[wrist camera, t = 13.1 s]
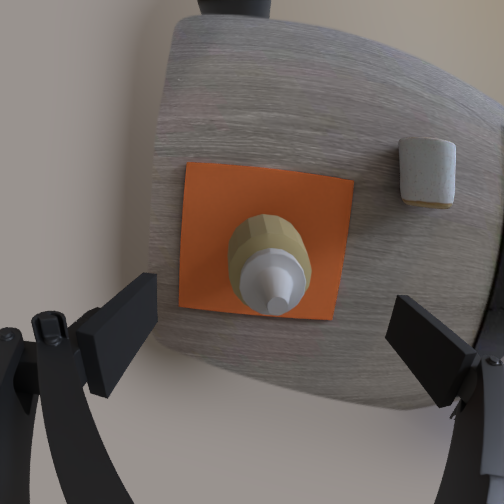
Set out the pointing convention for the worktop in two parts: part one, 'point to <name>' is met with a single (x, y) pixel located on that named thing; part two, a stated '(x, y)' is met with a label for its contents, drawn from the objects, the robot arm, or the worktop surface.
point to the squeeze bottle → (268, 264)
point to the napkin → (252, 204)
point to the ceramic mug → (427, 172)
